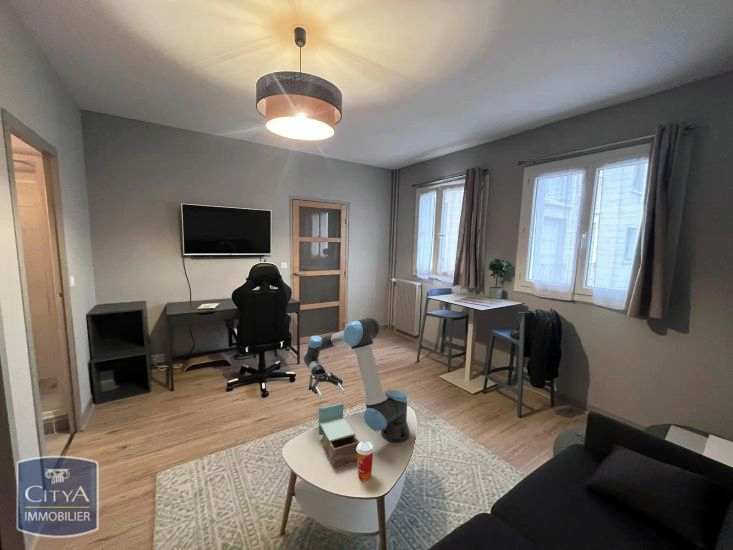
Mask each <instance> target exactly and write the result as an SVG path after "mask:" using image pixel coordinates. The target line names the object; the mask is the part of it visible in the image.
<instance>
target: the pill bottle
mask: <svg viewBox="0 0 733 550" xmlns="http://www.w3.org/2000/svg"><path fill="white" fill-rule="evenodd" d="M359 442H360V443H359V444H358V445H357V448H356V450H357V460H358V461H357V475H358V479H359V480H361V481H362V482H368V481H370V479H371V478H372V473H373V472H372V471H373V456H374V451H375V447H374V445H373V443H372V442H370V441H359Z"/></svg>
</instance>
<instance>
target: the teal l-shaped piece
mask: <svg viewBox="0 0 733 550" xmlns="http://www.w3.org/2000/svg"><path fill="white" fill-rule="evenodd" d="M323 431H324V433H325V435H326V437H327V438H328V440H329V442H332V441H335V440H339V439H342V438H346V437H350V436H353V435H355V436H356V432H355V431H354V430H353V428H352V426H351V425H350V424H349V423H348V421H347V420H346V418H345V417H344V404H343V402H339V403H336V404H330V405H326V406H322V407H321V406H320V407H318V436H323Z"/></svg>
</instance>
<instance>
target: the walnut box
mask: <svg viewBox="0 0 733 550" xmlns="http://www.w3.org/2000/svg"><path fill="white" fill-rule="evenodd" d="M360 442H361V441H360V440H359V438H357V436H356V434H355V435H353V436H350V437H346V438H342V439H339V440H335V441H332V442H329V440H328V438H327V437H326V435H325V433H324V431H323V435H322V448H323V449H322V450H323V451H324V453H325V455H326V457H327V458H328V461H329V462H330V464H331V466H332V468H333V469H337V468H341V467H343V466H347V465H350V464H354V463H356V462H357V463H358V460H357V450H356V448H357V445H358V444H359V443H360Z"/></svg>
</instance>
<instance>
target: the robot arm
mask: <svg viewBox="0 0 733 550" xmlns="http://www.w3.org/2000/svg"><path fill="white" fill-rule="evenodd" d="M380 332H381V324H380V322H379V321H378V320H377V319H376V318H373V317H366V318H363V319H359V320H358V319H357V320H354V321H351V322H349V323H348V324H347V325H345V328H344V330H342V331H339V332H336V333H333V334H330V335H326V336H324V337H321V336H319V335H312V336H310V338H309V342H308V346H307V350H306V351H305V352H304V353H303V355H302V359H303V361H304V364H305V365H306V367H307V368H308V371H309V372H310V375H309V379H308V381H309V383H308V384H309V385H308V391H311V392H312V393H314V395H316V396H317V398H318V399H319V400H321V398H322V393H321V391H320V390H319V388H318V384H319V383H323V382H326V383H330V384H333V385H335V386H336V388H337V390H338V391H339V392H340V394H341V396H343V395H344V394H345V389H344V386H343V380H342V379H341V378H339V377H338V376H336V375H335V374H333V373H332V372H329V373H327V372H326V369H325V367H324V366H323V364H322V363H321V362H320V360H319V355H320V352H322V351H325V350H327V349H328V350H329V349H331V348H335V347H338V346H341V345H344V344H347V345H348V346H350V347H351V350H352V351H353V352H355V356H356V360H357V363H358V368H359V371H360V376H361V379H362V383H363V388H364V390H365V395H366V400H365V407H366V409H365V410H364V412H363V420H364V422H365V424H366V425H367V427H368V428H370V429H371V430H373V431H375V432H381V437H382V438H383V439H385V441H387V442H391V443H397V444H399V443H403V442H406V441H407V440H409V438H410V432H411V431H410V427H409V424H408V420H407V415H408V414H407V413H408V396H407V394H406V393H405V392H404V391H401V390H398V389H388V390H386V392H385V393H384V390H383V387H382V386H383V385H382V382H381V378H380V375H379V370H378V367H377V363H376V360H375V355H374V353H373V349H372V348H373V345H374V339H376V338H377V337H378V336H379V335H380ZM313 380H314V381H315V382H314V384H313Z"/></svg>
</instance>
